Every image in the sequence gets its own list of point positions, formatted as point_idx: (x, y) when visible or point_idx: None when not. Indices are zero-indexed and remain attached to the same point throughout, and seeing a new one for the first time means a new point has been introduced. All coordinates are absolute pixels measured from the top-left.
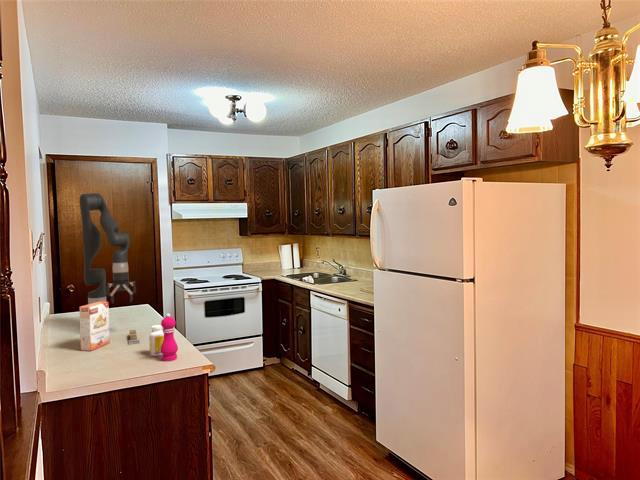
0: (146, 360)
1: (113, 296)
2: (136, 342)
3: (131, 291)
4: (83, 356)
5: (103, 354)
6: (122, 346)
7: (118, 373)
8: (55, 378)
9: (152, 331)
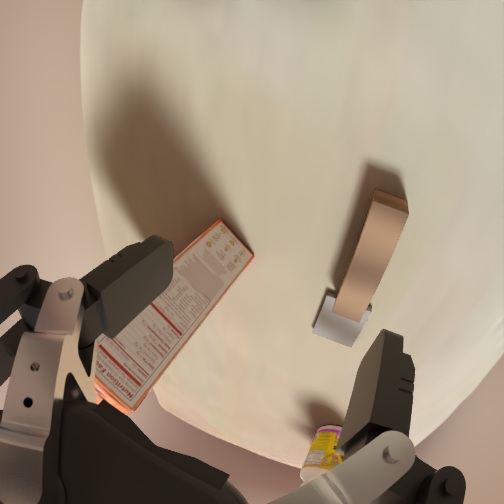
0: (297, 436)
1: (110, 305)
2: (339, 342)
3: (379, 489)
4: None
5: (223, 351)
6: (287, 329)
7: (238, 435)
8: None
9: (303, 482)
